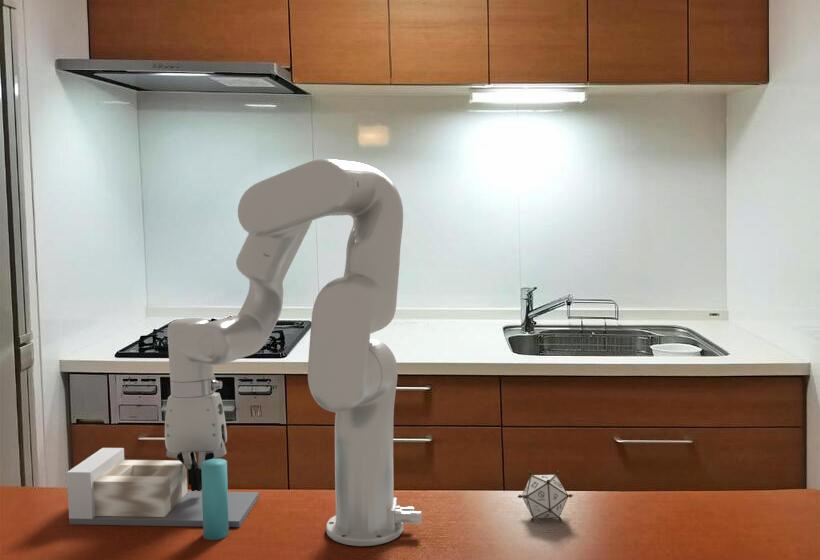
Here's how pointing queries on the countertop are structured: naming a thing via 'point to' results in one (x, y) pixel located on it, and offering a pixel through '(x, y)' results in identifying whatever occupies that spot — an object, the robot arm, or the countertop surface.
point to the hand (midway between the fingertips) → (198, 488)
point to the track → (180, 515)
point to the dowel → (215, 499)
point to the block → (140, 488)
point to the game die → (544, 496)
